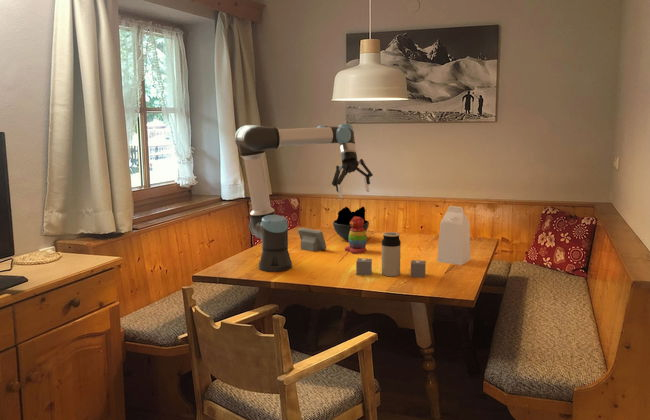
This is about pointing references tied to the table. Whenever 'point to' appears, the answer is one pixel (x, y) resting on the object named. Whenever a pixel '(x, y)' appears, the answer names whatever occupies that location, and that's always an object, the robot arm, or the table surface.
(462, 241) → the milk
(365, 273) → the dotted block left
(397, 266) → the travel mug
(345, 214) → the bowl of black rocks
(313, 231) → the digital clock
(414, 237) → the table surface
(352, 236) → the stacking bear
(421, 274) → the dotted block right
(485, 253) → the table surface
